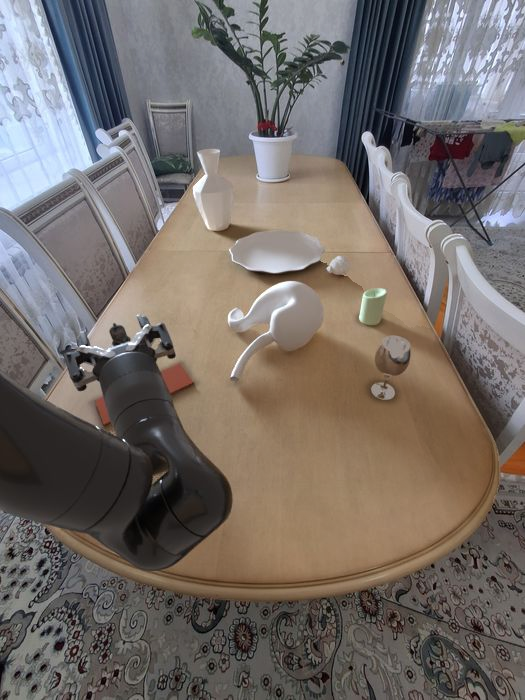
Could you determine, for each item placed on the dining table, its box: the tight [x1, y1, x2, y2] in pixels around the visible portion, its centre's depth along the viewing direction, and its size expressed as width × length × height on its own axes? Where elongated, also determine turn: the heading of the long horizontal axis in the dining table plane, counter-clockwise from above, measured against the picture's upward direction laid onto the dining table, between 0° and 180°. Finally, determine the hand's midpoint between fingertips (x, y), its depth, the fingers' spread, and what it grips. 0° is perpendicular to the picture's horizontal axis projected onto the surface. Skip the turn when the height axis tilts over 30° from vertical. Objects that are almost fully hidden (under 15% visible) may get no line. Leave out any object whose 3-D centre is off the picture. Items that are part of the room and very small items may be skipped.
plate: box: [228, 229, 326, 275], centre depth 110 cm, size 29×29×2 cm
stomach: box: [227, 280, 325, 383], centre depth 76 cm, size 23×13×24 cm
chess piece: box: [108, 322, 132, 347], centre depth 71 cm, size 6×6×12 cm
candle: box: [358, 287, 388, 326], centre depth 82 cm, size 5×5×8 cm
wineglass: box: [370, 335, 412, 401], centre depth 63 cm, size 6×6×12 cm
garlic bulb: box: [326, 255, 351, 276], centre depth 99 cm, size 6×6×5 cm
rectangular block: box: [94, 362, 194, 426], centre depth 70 cm, size 18×7×1 cm, turn 123°
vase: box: [192, 148, 235, 232], centre depth 123 cm, size 14×14×25 cm
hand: (112, 327), depth 55 cm, fingers open, 8 cm apart
